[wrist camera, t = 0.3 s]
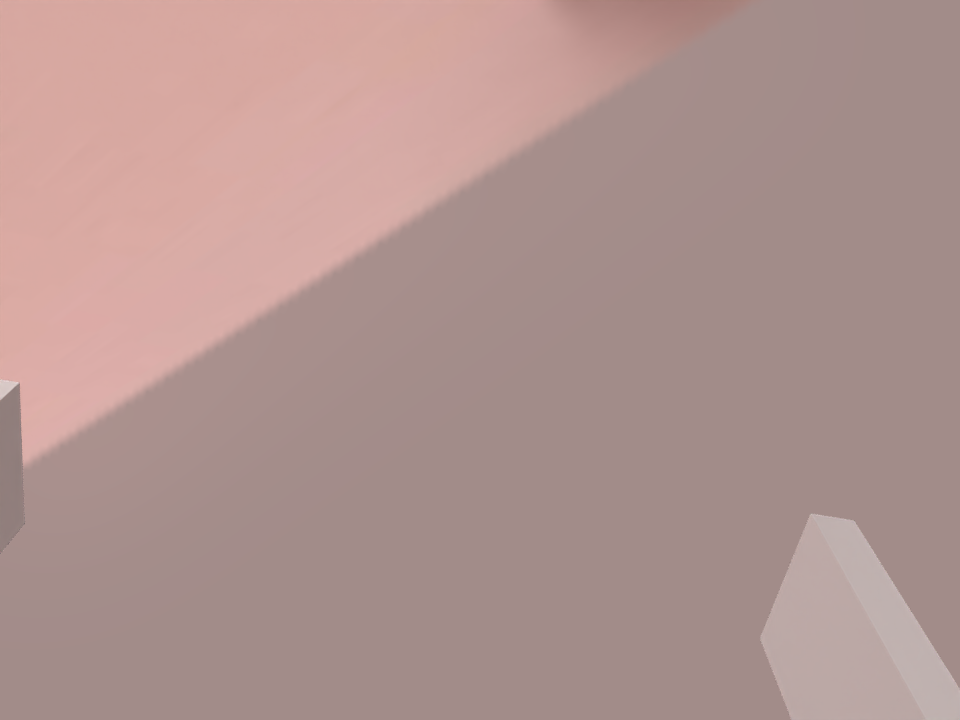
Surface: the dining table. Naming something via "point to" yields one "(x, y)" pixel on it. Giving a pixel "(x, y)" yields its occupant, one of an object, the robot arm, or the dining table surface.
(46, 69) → the dining table surface
